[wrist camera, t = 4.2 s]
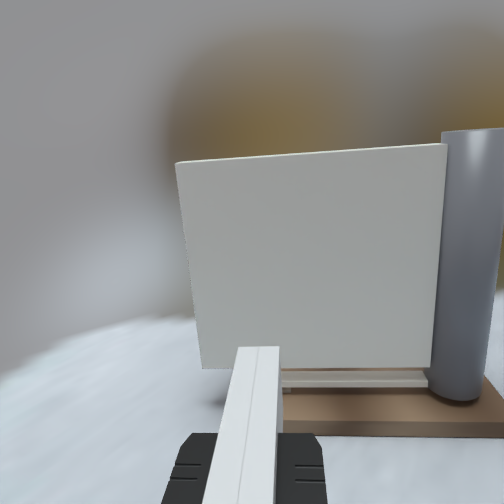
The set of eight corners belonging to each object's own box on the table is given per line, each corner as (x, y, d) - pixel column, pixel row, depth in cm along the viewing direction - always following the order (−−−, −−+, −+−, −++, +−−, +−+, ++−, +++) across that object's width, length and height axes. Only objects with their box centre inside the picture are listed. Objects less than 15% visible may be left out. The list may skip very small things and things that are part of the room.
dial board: (430, 318, 32) (430, 306, 31) (519, 437, 19) (522, 419, 19) (249, 322, 33) (248, 310, 33) (226, 434, 21) (224, 416, 21)
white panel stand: (467, 367, 23) (494, 127, 19) (492, 400, 20) (531, 127, 16) (211, 368, 25) (184, 151, 20) (201, 399, 22) (167, 154, 18)
